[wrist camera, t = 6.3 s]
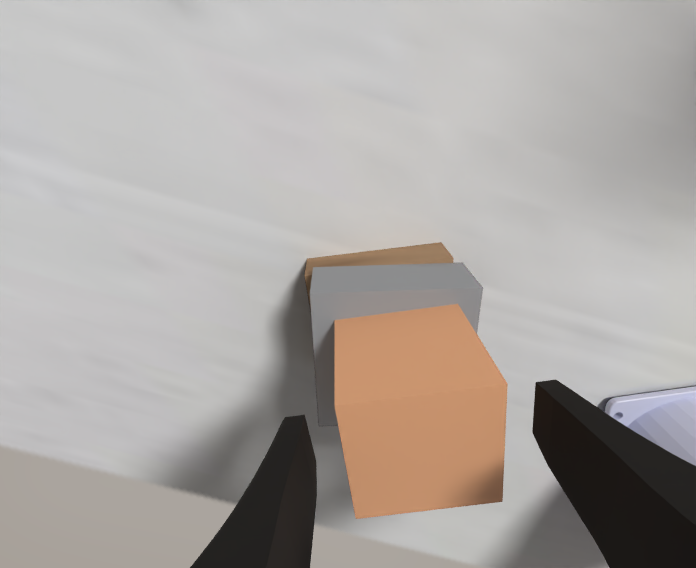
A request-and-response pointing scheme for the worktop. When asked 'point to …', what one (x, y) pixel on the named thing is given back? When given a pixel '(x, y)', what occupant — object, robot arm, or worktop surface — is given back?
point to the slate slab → (378, 306)
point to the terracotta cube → (418, 412)
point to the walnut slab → (381, 258)
